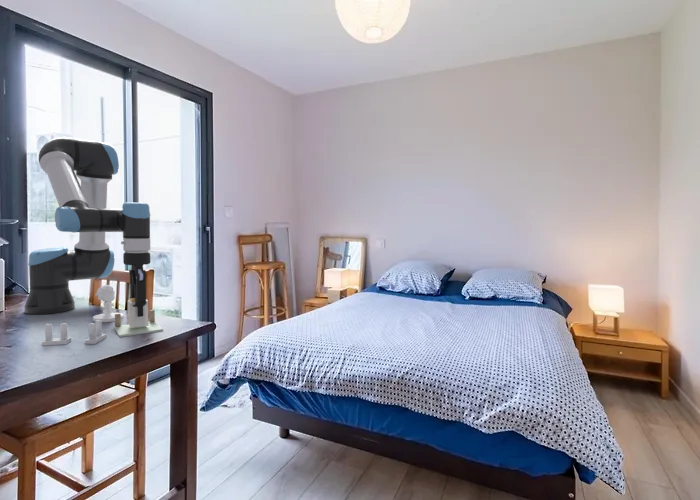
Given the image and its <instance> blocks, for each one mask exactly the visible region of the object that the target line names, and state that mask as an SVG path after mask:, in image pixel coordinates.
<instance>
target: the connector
mask: <svg viewBox="0 0 700 500" xmlns="http://www.w3.org/2000/svg"><path fill="white" fill-rule="evenodd" d="M133 305H135V298H130V297H129V299H128V300H127V324H128V325H129V326H130V328H136V327H135V307H133ZM148 322H149V300H148V299H146V305H145V326H148ZM141 327H143V326H141Z"/></svg>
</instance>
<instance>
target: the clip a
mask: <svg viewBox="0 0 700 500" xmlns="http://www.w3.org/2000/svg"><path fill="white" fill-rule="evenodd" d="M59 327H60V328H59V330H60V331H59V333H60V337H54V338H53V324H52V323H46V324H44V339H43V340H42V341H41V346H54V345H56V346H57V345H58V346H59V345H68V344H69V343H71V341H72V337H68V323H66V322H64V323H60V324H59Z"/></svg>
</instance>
